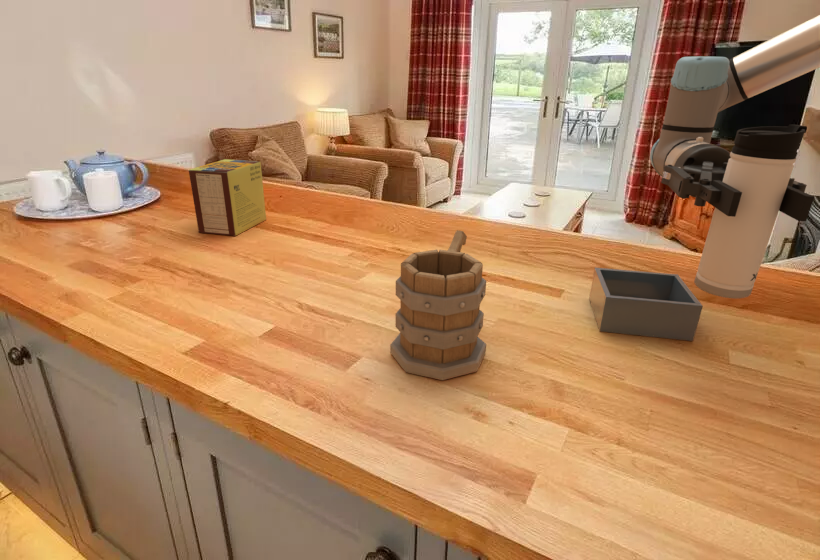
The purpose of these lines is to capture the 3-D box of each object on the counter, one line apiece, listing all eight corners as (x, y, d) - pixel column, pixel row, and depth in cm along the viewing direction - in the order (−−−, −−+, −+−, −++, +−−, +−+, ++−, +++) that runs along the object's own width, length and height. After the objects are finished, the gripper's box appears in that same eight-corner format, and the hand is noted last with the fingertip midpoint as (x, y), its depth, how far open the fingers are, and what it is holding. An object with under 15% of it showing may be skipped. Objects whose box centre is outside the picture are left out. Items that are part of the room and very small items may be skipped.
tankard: (470, 387, 63) (478, 279, 57) (379, 367, 67) (378, 264, 61) (500, 320, 80) (508, 231, 74) (426, 307, 84) (429, 222, 78)
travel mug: (764, 300, 59) (825, 128, 51) (710, 298, 59) (762, 126, 51) (734, 279, 65) (784, 122, 57) (684, 278, 65) (727, 120, 57)
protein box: (267, 219, 132) (261, 160, 125) (235, 236, 118) (227, 171, 112) (232, 216, 134) (224, 158, 128) (197, 232, 120) (186, 168, 114)
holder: (670, 305, 86) (678, 274, 84) (693, 341, 75) (703, 305, 72) (589, 298, 88) (594, 267, 86) (599, 331, 77) (606, 296, 75)
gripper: (636, 140, 74) (682, 166, 53) (778, 146, 71) (886, 177, 50) (627, 189, 77) (666, 232, 56) (762, 197, 74) (858, 246, 53)
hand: (770, 206), depth 53 cm, fingers closed on travel mug, 6 cm apart
